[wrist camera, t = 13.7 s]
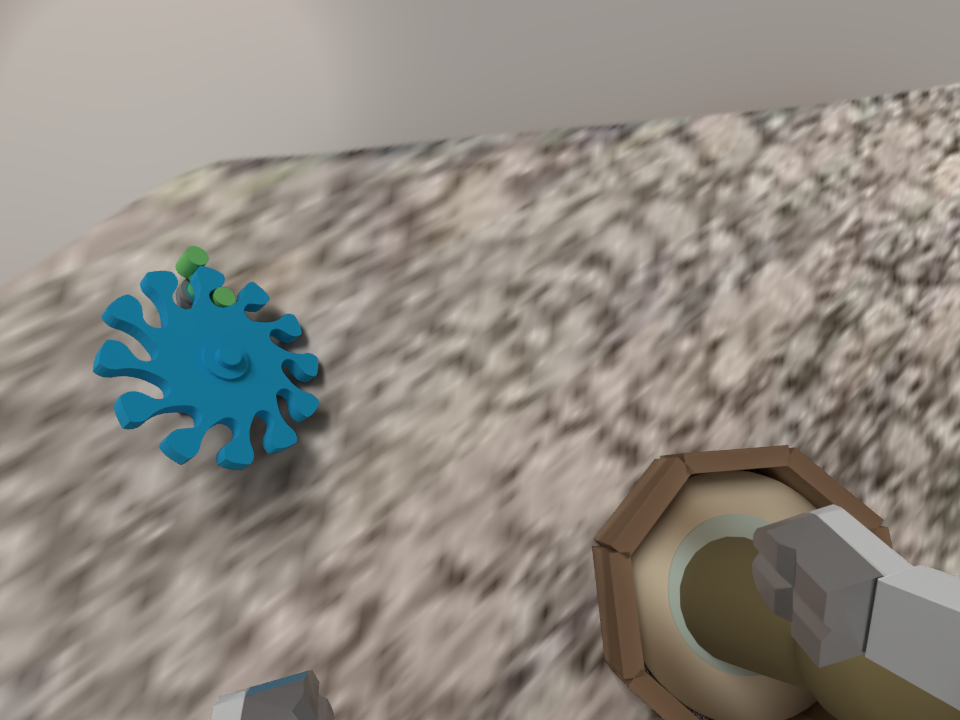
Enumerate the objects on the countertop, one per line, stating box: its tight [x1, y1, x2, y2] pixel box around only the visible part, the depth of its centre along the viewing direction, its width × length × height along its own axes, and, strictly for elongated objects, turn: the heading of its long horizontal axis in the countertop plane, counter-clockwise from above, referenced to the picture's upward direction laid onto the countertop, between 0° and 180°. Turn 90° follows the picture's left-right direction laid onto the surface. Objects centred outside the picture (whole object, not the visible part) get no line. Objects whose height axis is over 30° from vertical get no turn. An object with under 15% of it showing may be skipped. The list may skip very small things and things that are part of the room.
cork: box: [680, 536, 960, 720], centre depth 23 cm, size 6×6×11 cm
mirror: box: [592, 445, 893, 720], centre depth 28 cm, size 14×14×3 cm
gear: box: [93, 246, 319, 470], centre depth 28 cm, size 11×6×10 cm
